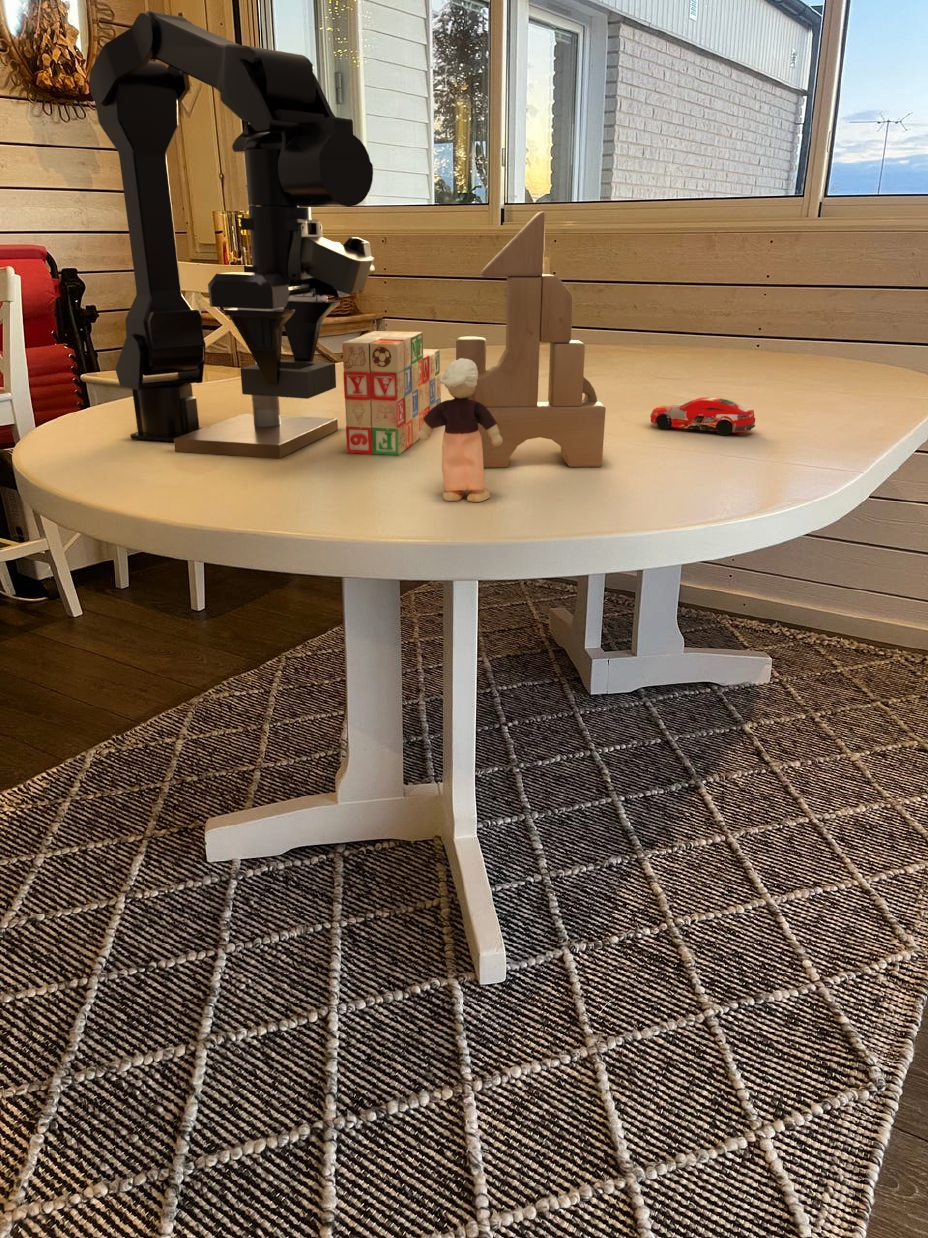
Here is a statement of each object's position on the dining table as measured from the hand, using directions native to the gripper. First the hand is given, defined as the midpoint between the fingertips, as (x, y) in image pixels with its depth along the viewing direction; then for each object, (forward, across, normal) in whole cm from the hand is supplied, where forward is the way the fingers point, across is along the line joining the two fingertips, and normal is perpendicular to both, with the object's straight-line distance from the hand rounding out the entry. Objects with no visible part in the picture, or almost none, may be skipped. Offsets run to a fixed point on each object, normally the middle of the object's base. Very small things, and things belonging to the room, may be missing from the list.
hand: (289, 378), depth 91 cm
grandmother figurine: (+9, -5, -19) cm, 22 cm away
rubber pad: (+1, 0, 0) cm, 1 cm away
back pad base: (+10, +14, +11) cm, 20 cm away
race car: (+9, +36, -40) cm, 55 cm away
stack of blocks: (+10, +21, -4) cm, 24 cm away
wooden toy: (+10, +12, -22) cm, 27 cm away
